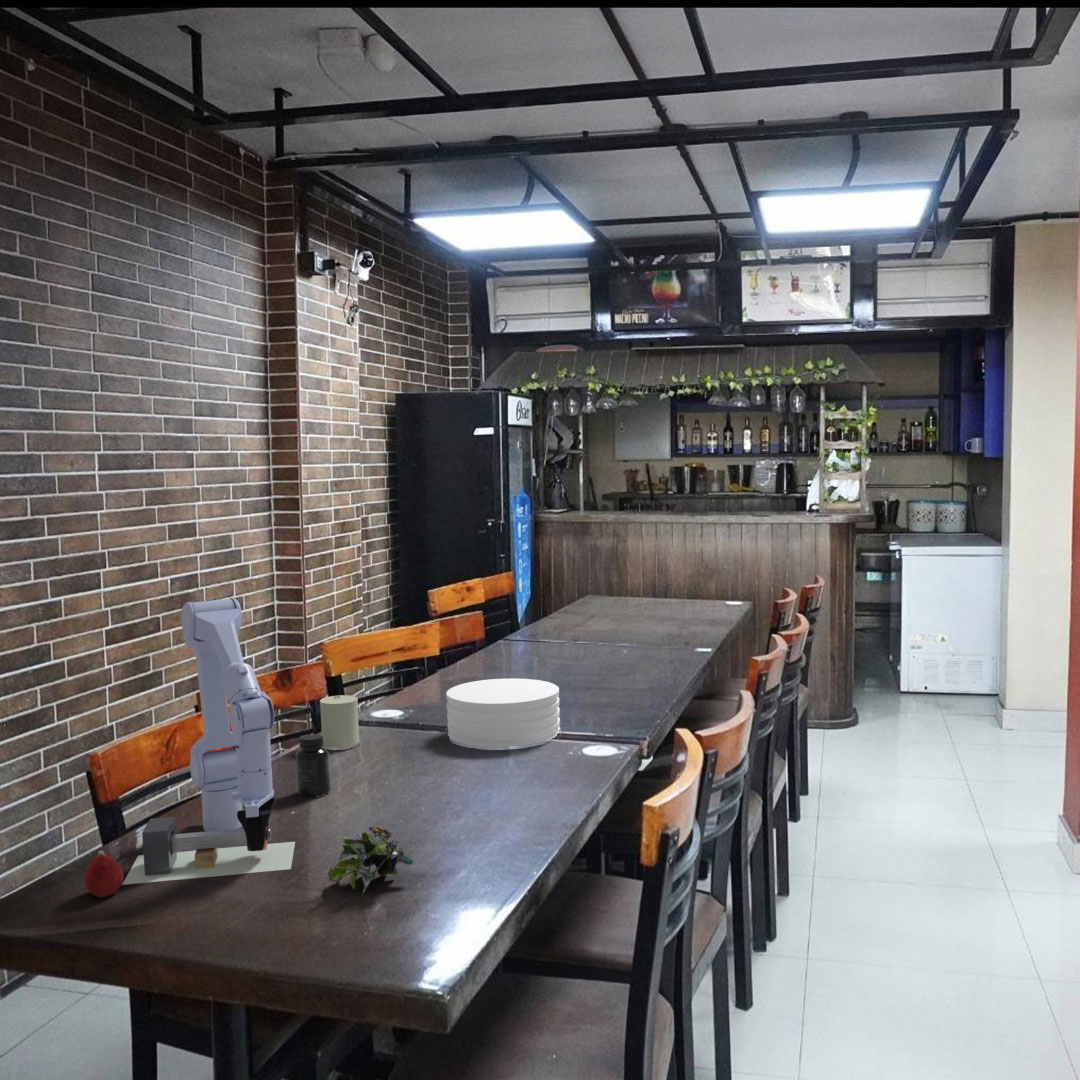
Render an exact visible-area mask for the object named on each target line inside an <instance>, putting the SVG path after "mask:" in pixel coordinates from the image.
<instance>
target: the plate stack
mask: <svg viewBox="0 0 1080 1080" xmlns="http://www.w3.org/2000/svg"><path fill="white" fill-rule="evenodd" d="M445 694H446V695H445V696H446V700H447V702H446V710H447V713H446V718H447V737H448V736H449V738H451V739H452V740H454V741H456V742H459V743H463V744H469V745H475V746H487V747H510V746H521V745H528V744H533V743H538V742H542V741H546V740H550V739H552V738H555V737H556V736H557V734H558V733H559V730H560V731H561V727H560V726H561V718H560V714H561V712H560V711H561V709H560V707H559V706H560V697H559V696H560V688H559V686H558V685H556V684H554V683H553V682H550V681H545V680H541V679H531V678H514V677H513V678H492V679H491V678H490V679H481V680H475V681H469V682H465V683H461V684H458V685H455V686H453V687H451V688H449V689H447V691H446V693H445Z"/></svg>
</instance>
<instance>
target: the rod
mask: <svg viewBox="0 0 1080 1080" xmlns="http://www.w3.org/2000/svg"><path fill="white" fill-rule="evenodd" d="M271 829H272V828H268V829H267V826H266V833H265V843H264V848H263V850H266V849H267V844H268V842H269V841H272V830H271ZM240 846H247V850H248V851H250V848H249V845H248V841H247V838H246V834H245V831H244V829H243V827H241V828H238V829H230V830H219V831H207V832H206V831H196V832H187V833H186V832H185V833H184V832H183V833H175V834H172V835H170V852H172V851H177V852H184V851H195V850H197V849H206V848H217V849H218V848H229V847H240Z"/></svg>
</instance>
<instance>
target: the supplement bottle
mask: <svg viewBox="0 0 1080 1080" xmlns="http://www.w3.org/2000/svg"><path fill="white" fill-rule="evenodd" d="M298 739H299V744H298V745H299V748H300V749H298V751H296V753H295V756H294V757H295V776H296V777H295V778H296V793H297V795H298V797H299V796H300V797H301V796H303V797H302V798H304V797H315V798H317V797H316V796H321V795H323V794H326V793H328V792H329V791H331V775H330V773H331V771H330V753H329V751H328V750H327V749H325V748H324V747H322V746H323V745H324V742H323V736H322V734H316V733H312V734H310V733H309V734H304V735H302V736H300V737H299V738H298ZM329 793H330V792H329ZM329 793H328V794H329ZM326 795H327V794H326ZM321 797H322V796H321Z"/></svg>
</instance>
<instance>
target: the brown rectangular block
mask: <svg viewBox="0 0 1080 1080" xmlns="http://www.w3.org/2000/svg"><path fill="white" fill-rule="evenodd" d="M217 849H218V847H217V848H206V849H195V850H196V853H195V869H201V868H212V867H214V866H215V863H216V860H217V857H218V853H217Z"/></svg>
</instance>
